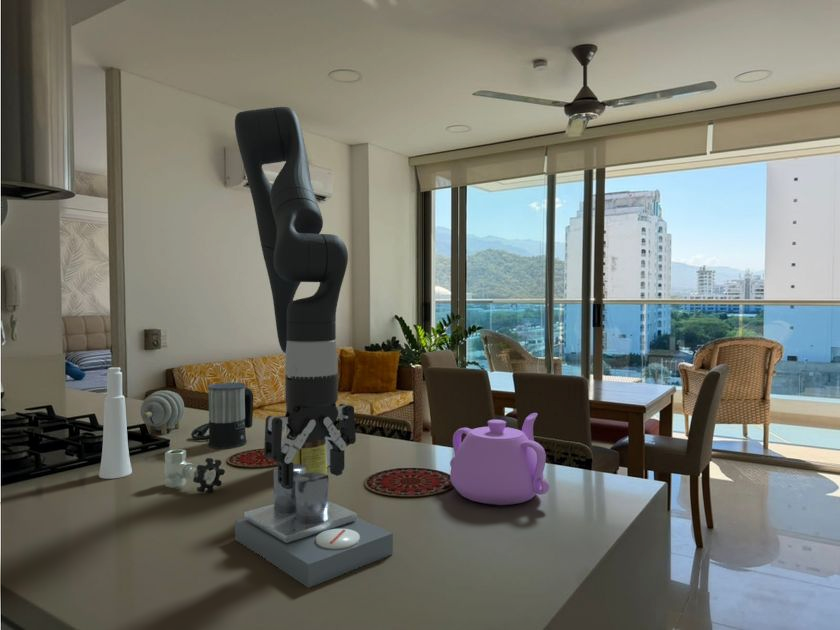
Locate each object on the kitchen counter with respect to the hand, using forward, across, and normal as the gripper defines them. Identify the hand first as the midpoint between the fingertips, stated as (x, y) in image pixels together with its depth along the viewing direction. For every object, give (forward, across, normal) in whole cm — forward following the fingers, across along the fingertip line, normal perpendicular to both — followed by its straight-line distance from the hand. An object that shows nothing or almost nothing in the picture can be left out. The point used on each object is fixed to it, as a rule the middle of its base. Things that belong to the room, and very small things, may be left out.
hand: (312, 480), depth 85 cm
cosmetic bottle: (+10, +10, -57) cm, 58 cm away
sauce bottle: (+10, -10, -16) cm, 21 cm away
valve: (+10, +2, -38) cm, 40 cm away
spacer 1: (+5, 0, -6) cm, 8 cm away
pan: (+6, 0, -3) cm, 7 cm away
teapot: (+10, -40, +5) cm, 41 cm away
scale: (+10, 0, 0) cm, 10 cm away
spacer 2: (+5, 0, 0) cm, 5 cm away
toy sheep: (+10, -11, -90) cm, 91 cm away
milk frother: (+10, -17, -68) cm, 71 cm away
